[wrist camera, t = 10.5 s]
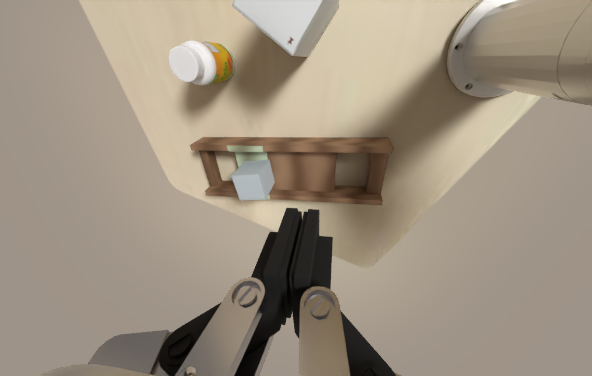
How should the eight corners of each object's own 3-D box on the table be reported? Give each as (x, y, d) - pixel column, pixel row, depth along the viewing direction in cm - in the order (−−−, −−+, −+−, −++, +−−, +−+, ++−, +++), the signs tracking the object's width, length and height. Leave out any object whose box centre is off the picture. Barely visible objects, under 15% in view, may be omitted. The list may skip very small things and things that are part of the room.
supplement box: (340, 6, 28) (341, -25, 18) (307, 58, 32) (291, 59, 21) (297, -37, 27) (269, -98, 16) (267, 24, 31) (229, 6, 20)
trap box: (387, 137, 36) (393, 147, 32) (377, 191, 42) (381, 206, 38) (203, 137, 42) (188, 145, 38) (217, 184, 48) (205, 195, 44)
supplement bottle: (228, 88, 36) (196, 96, 28) (200, 68, 35) (159, 72, 27) (240, 57, 33) (208, 56, 25) (210, 35, 33) (167, 28, 25)
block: (269, 159, 39) (258, 174, 34) (274, 182, 42) (265, 199, 37) (245, 161, 41) (231, 175, 36) (251, 183, 43) (239, 200, 38)
